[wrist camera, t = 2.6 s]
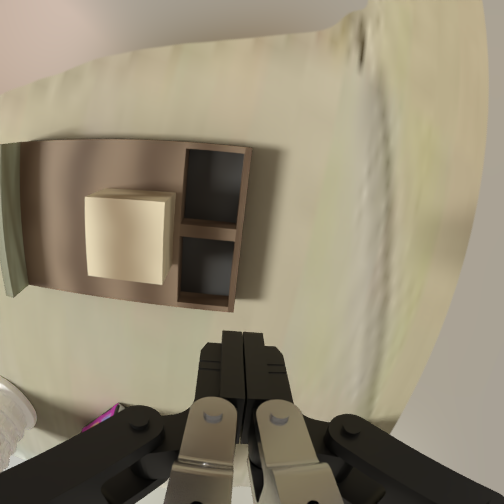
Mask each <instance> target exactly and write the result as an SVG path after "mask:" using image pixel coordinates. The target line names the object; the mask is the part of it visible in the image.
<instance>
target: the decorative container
mask: <svg viewBox="0 0 504 504" xmlns="http://www.w3.org/2000/svg"><path fill="white" fill-rule="evenodd" d="M36 421H37V415H36V412H35V410H34V407H33V406H32V404H31V403H30V401H29V400H28V399H27V398H26V397H25V395H24V394H23V393H22V392H21V391H20V390H19V389H18V388H17V387H16V386H14V385H13V384H12V383H10V382H9V381H8V380H6V379H5V378H3V377H1V376H0V473H1V472H2V471H3V469H6V468H7V467H8V466H9V458H10V456H11V455H12V454H14V453H15V452H16V448H17V442H18V441H20V440H21V439H22V438H23V436H24V429H25V430H29V429H32V428H33V427H34V425H35V424H36Z"/></svg>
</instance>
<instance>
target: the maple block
mask: <svg viewBox="0 0 504 504" xmlns="http://www.w3.org/2000/svg"><path fill="white" fill-rule="evenodd" d="M175 199H176V193H174V192H161V191H146V190H131V189H114V188H105V189H102V190H100V191H97V192H95V193H93V194H90V195H88V196H86V197H85V236H86V255H87V270H88V276H95V277H103V278H110V279H118V280H126V281H134V282H142V283H150V284H159V285H162V284H163V282H164V280H165V278H166V276H167V274H168V272H169V270H170V268H171V266H172V258H173V233H174V214H175Z"/></svg>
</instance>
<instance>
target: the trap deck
mask: <svg viewBox="0 0 504 504" xmlns="http://www.w3.org/2000/svg"><path fill="white" fill-rule="evenodd" d="M251 155H252V148H250V147H241V146H231V145H221V144H209V143H197V142H182V141H164V140H138V139H70V140H46V141H29V142H18V143H8V144H0V264H1V270H2V275H3V281H4V286H5V291H6V296H9V297H13V298H14V297H15V296H16V295H17V294H18V293H20V292H21V291H22V290H23V289H24V288H25V287H27V286H28V285H34V286H39V287H45V288H50V289H56V290H62V291H68V292H74V293H80V294H86V295H92V296H99V297H106V298H112V299H119V300H127V301H134V302H141V303H149V304H157V305H166V306H174V307H183V308H192V309H202V310H212V311H222V312H233V311H234V302H235V293H236V284H237V275H238V266H239V257H240V248H241V240H242V231H243V222H244V214H245V205H246V197H247V188H248V180H249V171H250V163H251ZM105 188H114V189H131V190H146V191H161V192H174V193H176V199H175V214H174V233H173V258H172V266H171V268H170V270H169V272H168V274H167V276H166V278H165V280H164V282H163V284H162V285H159V284H150V283H142V282H134V281H126V280H118V279H110V278H103V277H95V276H88V270H87V255H86V236H85V197H86V196H88V195H90V194H93V193H95V192H97V191H100V190H102V189H105Z"/></svg>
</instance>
